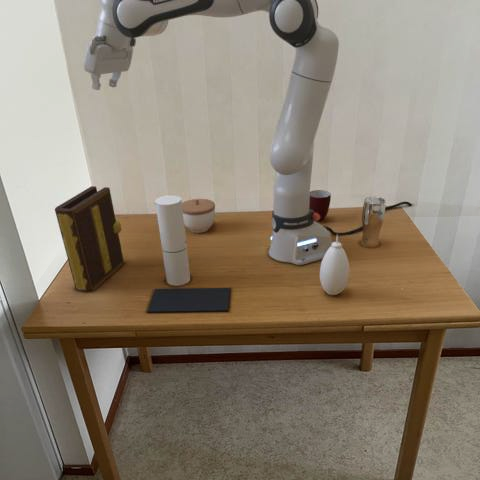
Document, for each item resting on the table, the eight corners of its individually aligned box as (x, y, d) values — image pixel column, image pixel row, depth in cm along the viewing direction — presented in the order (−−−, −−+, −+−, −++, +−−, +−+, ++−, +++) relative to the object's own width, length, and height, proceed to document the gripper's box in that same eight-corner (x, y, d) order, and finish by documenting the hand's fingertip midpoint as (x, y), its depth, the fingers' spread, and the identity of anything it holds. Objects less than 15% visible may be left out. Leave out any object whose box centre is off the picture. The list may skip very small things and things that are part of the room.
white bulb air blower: (314, 289, 140) (317, 230, 130) (339, 284, 142) (344, 226, 132) (325, 302, 134) (329, 242, 124) (351, 297, 135) (358, 237, 125)
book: (94, 293, 143) (75, 212, 129) (70, 289, 146) (48, 209, 132) (131, 259, 160) (117, 184, 146) (108, 256, 163) (93, 182, 149)
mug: (300, 224, 178) (301, 198, 173) (300, 216, 185) (300, 190, 179) (330, 224, 177) (331, 197, 172) (328, 215, 184) (329, 189, 178)
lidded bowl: (203, 238, 172) (200, 208, 165) (175, 231, 177) (171, 202, 171) (223, 225, 180) (221, 196, 174) (195, 219, 186) (193, 191, 180)
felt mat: (230, 289, 142) (230, 287, 142) (227, 311, 132) (227, 310, 132) (155, 290, 143) (154, 288, 143) (147, 312, 133) (147, 311, 133)
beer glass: (357, 246, 161) (361, 203, 153) (361, 238, 167) (365, 195, 158) (378, 249, 159) (384, 205, 151) (382, 240, 164) (387, 197, 156)
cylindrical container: (192, 274, 150) (183, 195, 136) (187, 285, 145) (178, 204, 131) (169, 273, 151) (158, 195, 137) (164, 285, 145) (152, 204, 131)
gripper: (103, 40, 126) (95, 95, 134) (139, 40, 143) (130, 89, 151) (81, 31, 127) (74, 86, 134) (119, 32, 144) (111, 81, 151)
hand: (104, 87), depth 143 cm, fingers open, 8 cm apart
